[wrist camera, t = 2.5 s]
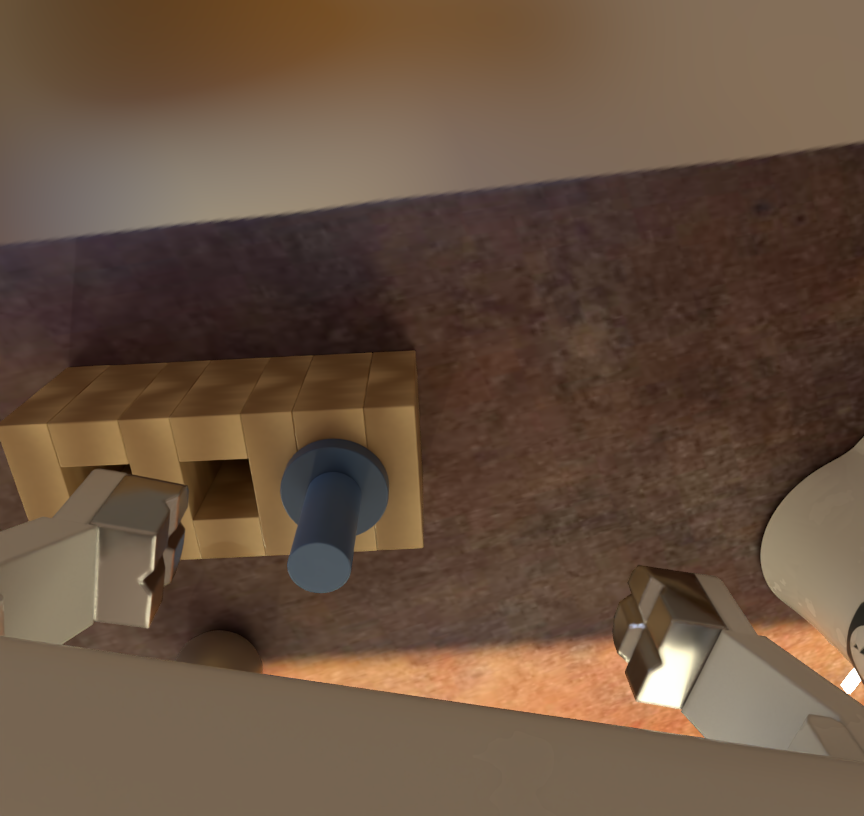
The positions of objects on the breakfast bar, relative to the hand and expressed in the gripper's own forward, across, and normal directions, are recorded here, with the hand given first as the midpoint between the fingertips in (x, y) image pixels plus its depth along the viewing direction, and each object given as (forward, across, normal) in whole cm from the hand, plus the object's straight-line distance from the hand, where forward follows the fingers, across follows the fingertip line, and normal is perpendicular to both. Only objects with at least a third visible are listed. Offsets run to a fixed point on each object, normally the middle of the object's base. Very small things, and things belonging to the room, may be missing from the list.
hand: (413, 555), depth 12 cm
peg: (+28, +1, +12) cm, 30 cm away
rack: (+30, +7, +13) cm, 34 cm away
